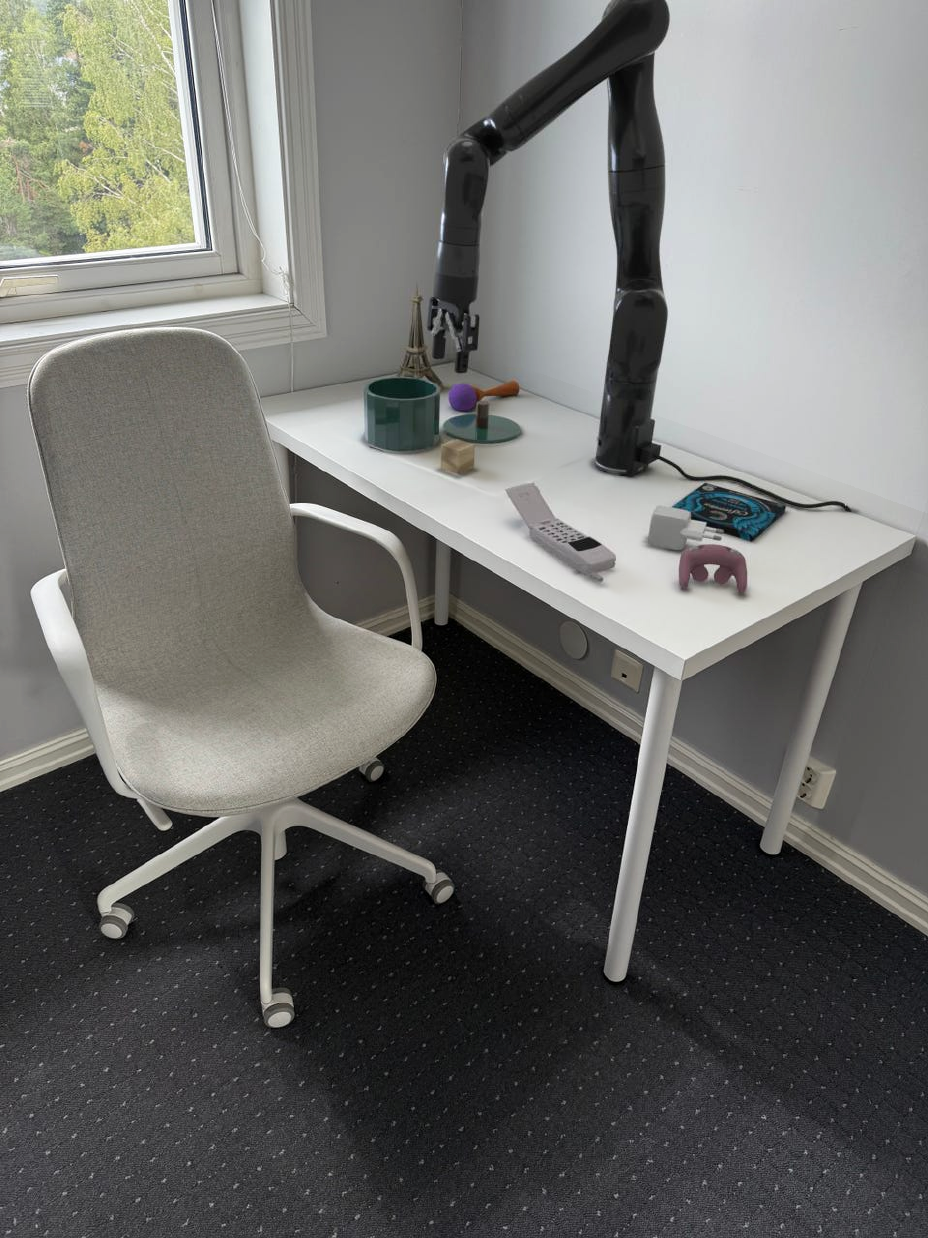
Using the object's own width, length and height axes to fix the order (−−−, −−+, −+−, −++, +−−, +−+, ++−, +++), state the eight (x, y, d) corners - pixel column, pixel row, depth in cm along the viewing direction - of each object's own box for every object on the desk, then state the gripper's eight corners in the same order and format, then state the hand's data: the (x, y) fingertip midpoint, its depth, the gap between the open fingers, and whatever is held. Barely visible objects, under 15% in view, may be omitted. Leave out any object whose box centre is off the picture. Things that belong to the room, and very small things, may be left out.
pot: (454, 440, 182) (456, 388, 176) (402, 459, 172) (402, 405, 167) (401, 422, 190) (401, 371, 184) (349, 439, 180) (348, 387, 174)
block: (473, 470, 169) (475, 444, 166) (458, 477, 166) (459, 451, 163) (456, 464, 171) (456, 438, 169) (440, 470, 168) (441, 444, 166)
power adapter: (720, 548, 145) (727, 514, 142) (716, 561, 141) (723, 527, 138) (651, 534, 148) (656, 501, 145) (645, 547, 145) (650, 513, 141)
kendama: (526, 381, 204) (465, 392, 190) (519, 405, 207) (459, 418, 194) (507, 370, 207) (446, 380, 193) (501, 394, 210) (440, 406, 197)
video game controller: (741, 593, 136) (745, 546, 135) (748, 595, 131) (753, 546, 131) (674, 588, 136) (678, 541, 136) (679, 589, 132) (683, 541, 131)
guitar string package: (786, 505, 157) (753, 534, 147) (784, 512, 158) (752, 541, 148) (705, 482, 165) (668, 508, 154) (704, 489, 166) (667, 515, 155)
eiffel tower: (422, 400, 202) (423, 282, 189) (383, 391, 207) (382, 275, 194) (447, 389, 210) (450, 275, 197) (409, 380, 214) (410, 268, 201)
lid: (535, 432, 187) (538, 403, 184) (486, 452, 177) (488, 421, 174) (476, 413, 196) (478, 385, 193) (426, 431, 186) (427, 401, 182)
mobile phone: (532, 481, 151) (631, 540, 132) (530, 513, 154) (626, 576, 136) (501, 488, 148) (598, 550, 130) (500, 521, 151) (594, 586, 133)
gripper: (497, 279, 150) (487, 376, 159) (456, 260, 161) (448, 352, 169) (457, 280, 147) (449, 379, 156) (418, 261, 157) (412, 354, 166)
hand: (449, 365), depth 162 cm, fingers open, 8 cm apart
